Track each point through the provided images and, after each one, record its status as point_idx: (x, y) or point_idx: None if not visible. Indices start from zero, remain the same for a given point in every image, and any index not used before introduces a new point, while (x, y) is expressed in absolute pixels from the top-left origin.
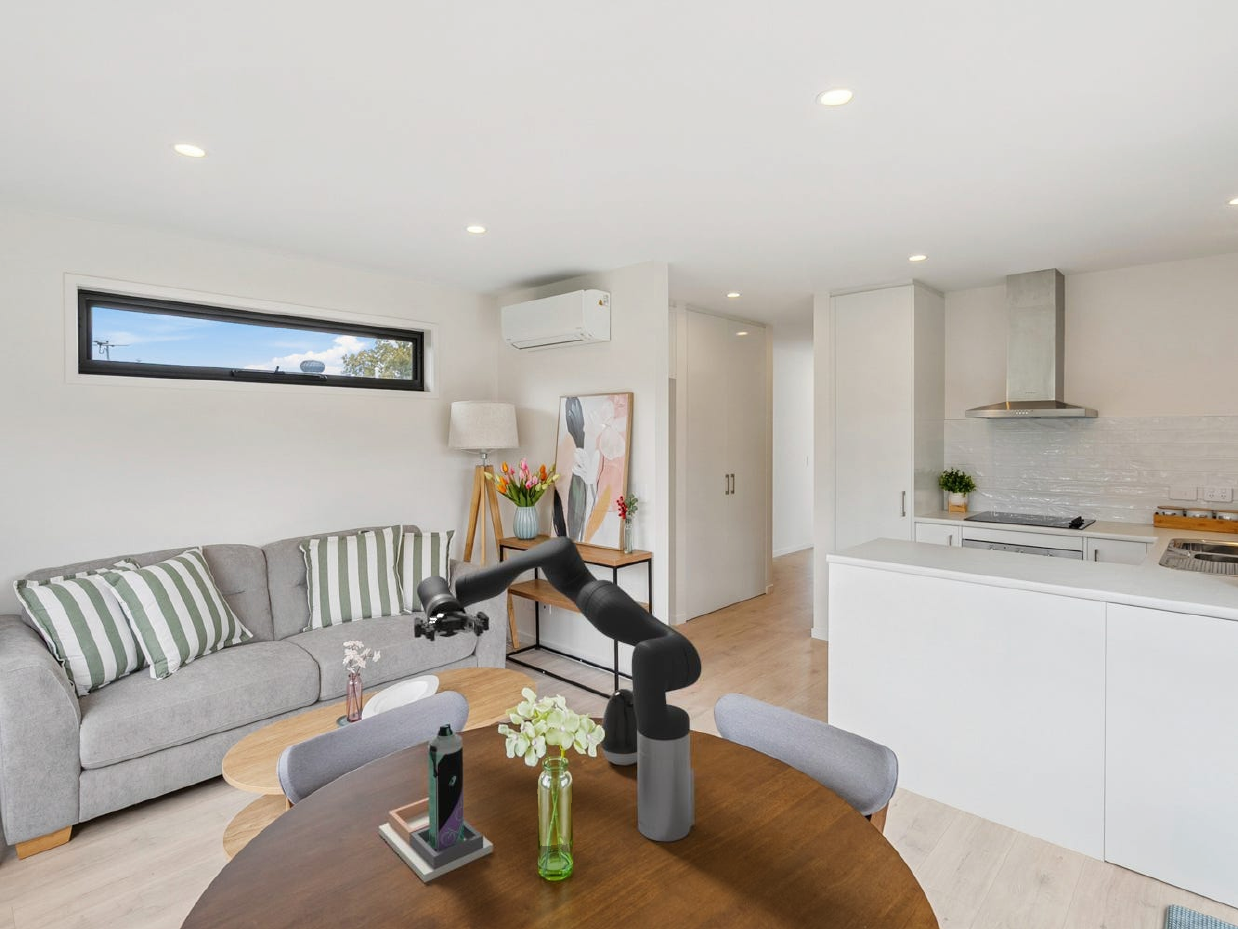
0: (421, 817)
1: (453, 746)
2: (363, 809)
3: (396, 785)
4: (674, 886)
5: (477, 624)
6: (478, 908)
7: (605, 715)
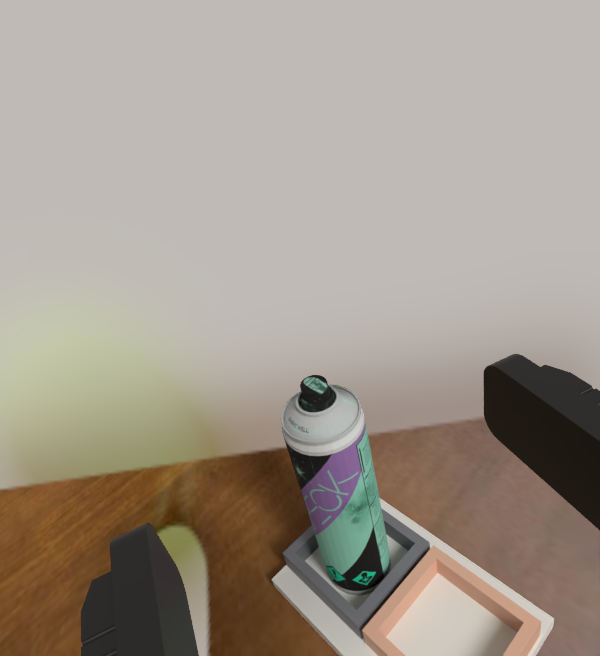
0: None
1: (293, 398)
2: None
3: None
4: (14, 536)
5: (136, 549)
6: (274, 464)
7: None
